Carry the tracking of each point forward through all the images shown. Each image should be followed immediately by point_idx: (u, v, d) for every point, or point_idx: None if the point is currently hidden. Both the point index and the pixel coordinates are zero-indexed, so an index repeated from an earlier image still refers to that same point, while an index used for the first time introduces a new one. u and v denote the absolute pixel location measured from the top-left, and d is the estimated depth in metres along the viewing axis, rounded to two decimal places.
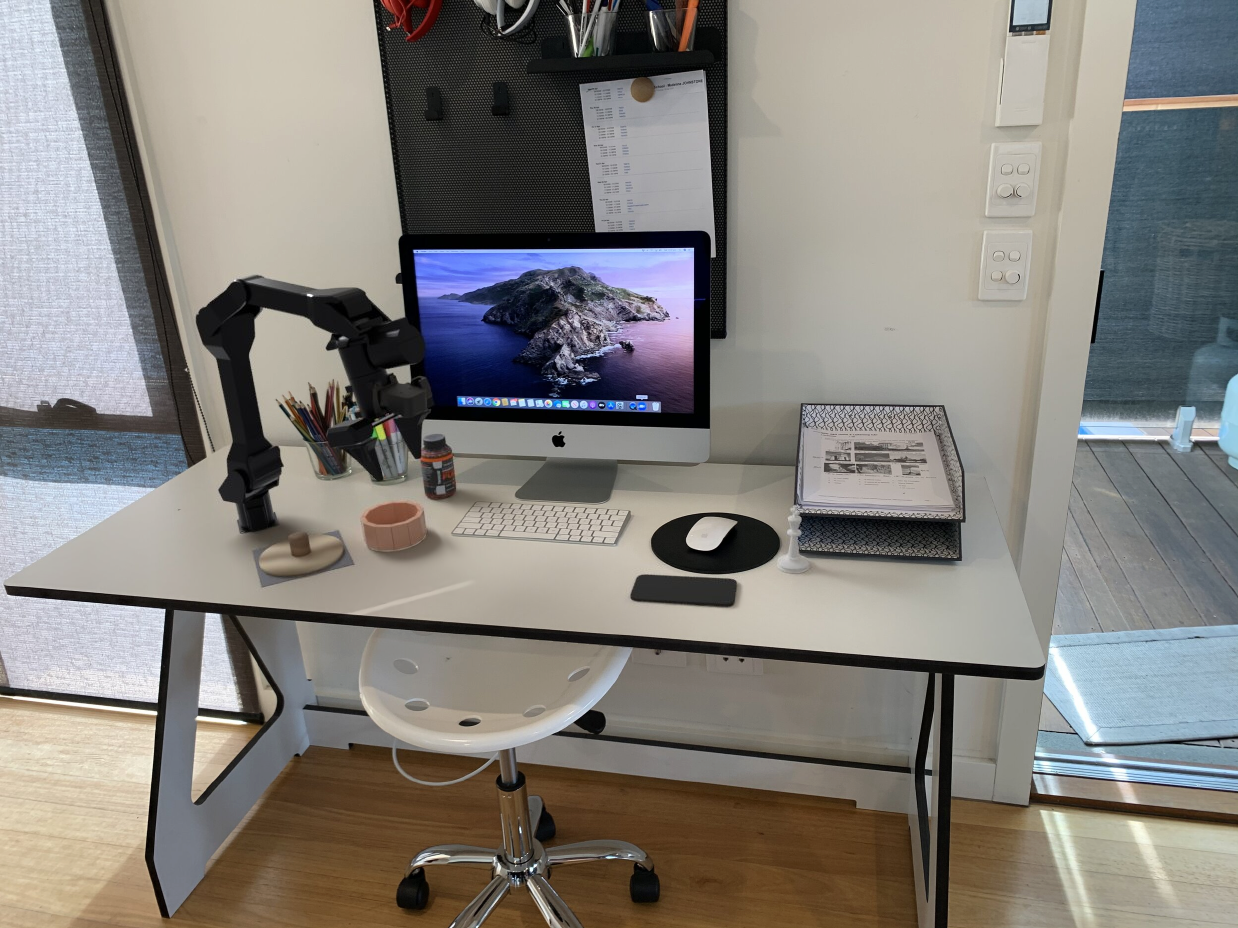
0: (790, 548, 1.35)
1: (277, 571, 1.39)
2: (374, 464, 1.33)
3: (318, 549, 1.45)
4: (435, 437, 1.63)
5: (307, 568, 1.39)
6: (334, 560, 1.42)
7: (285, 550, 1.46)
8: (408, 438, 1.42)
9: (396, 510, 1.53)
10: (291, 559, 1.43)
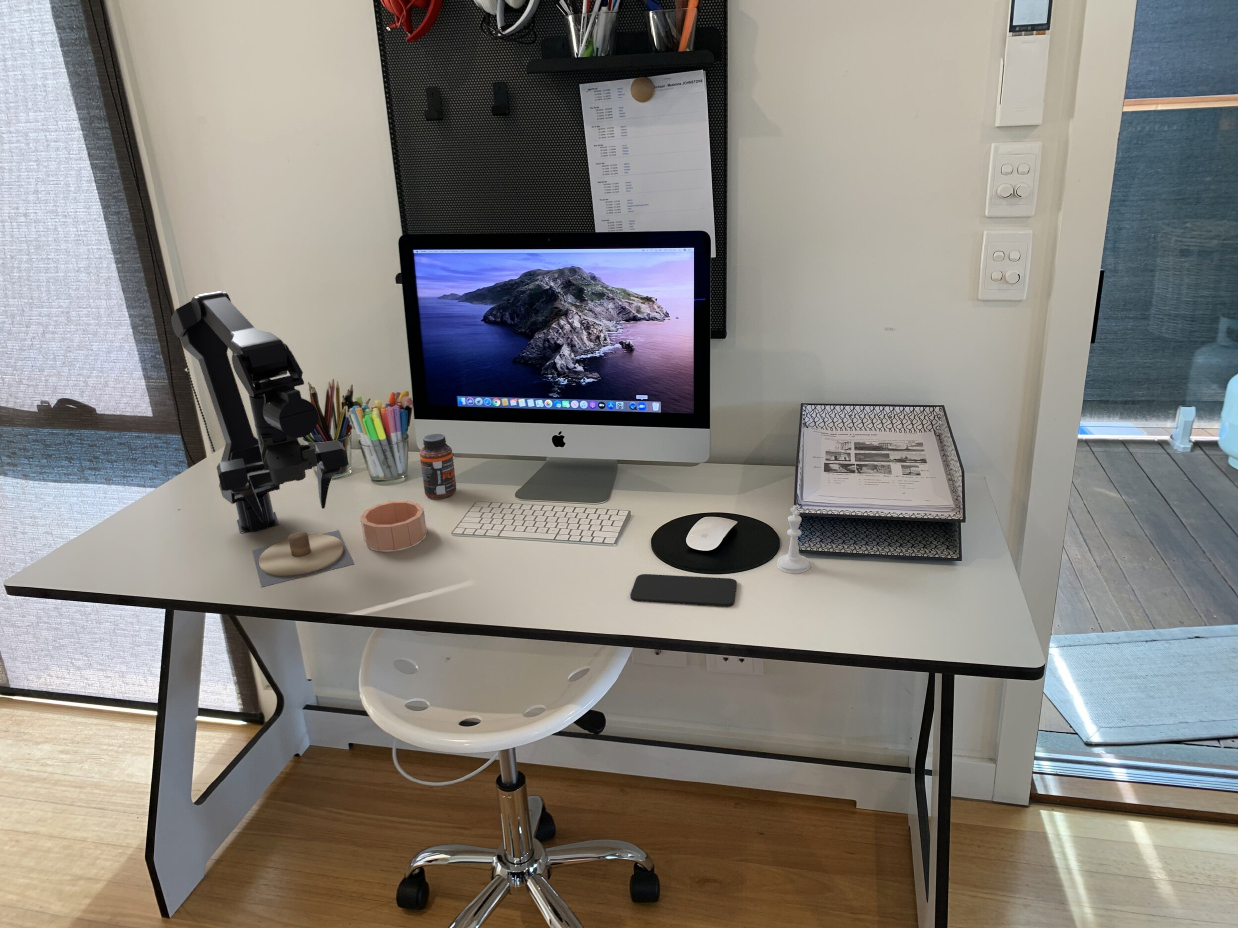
0: (790, 548, 1.35)
1: (277, 572, 1.39)
2: (253, 507, 1.38)
3: (318, 549, 1.45)
4: (435, 437, 1.63)
5: (307, 568, 1.39)
6: (334, 560, 1.42)
7: (285, 550, 1.46)
8: (319, 486, 1.43)
9: (396, 510, 1.53)
10: (291, 559, 1.43)
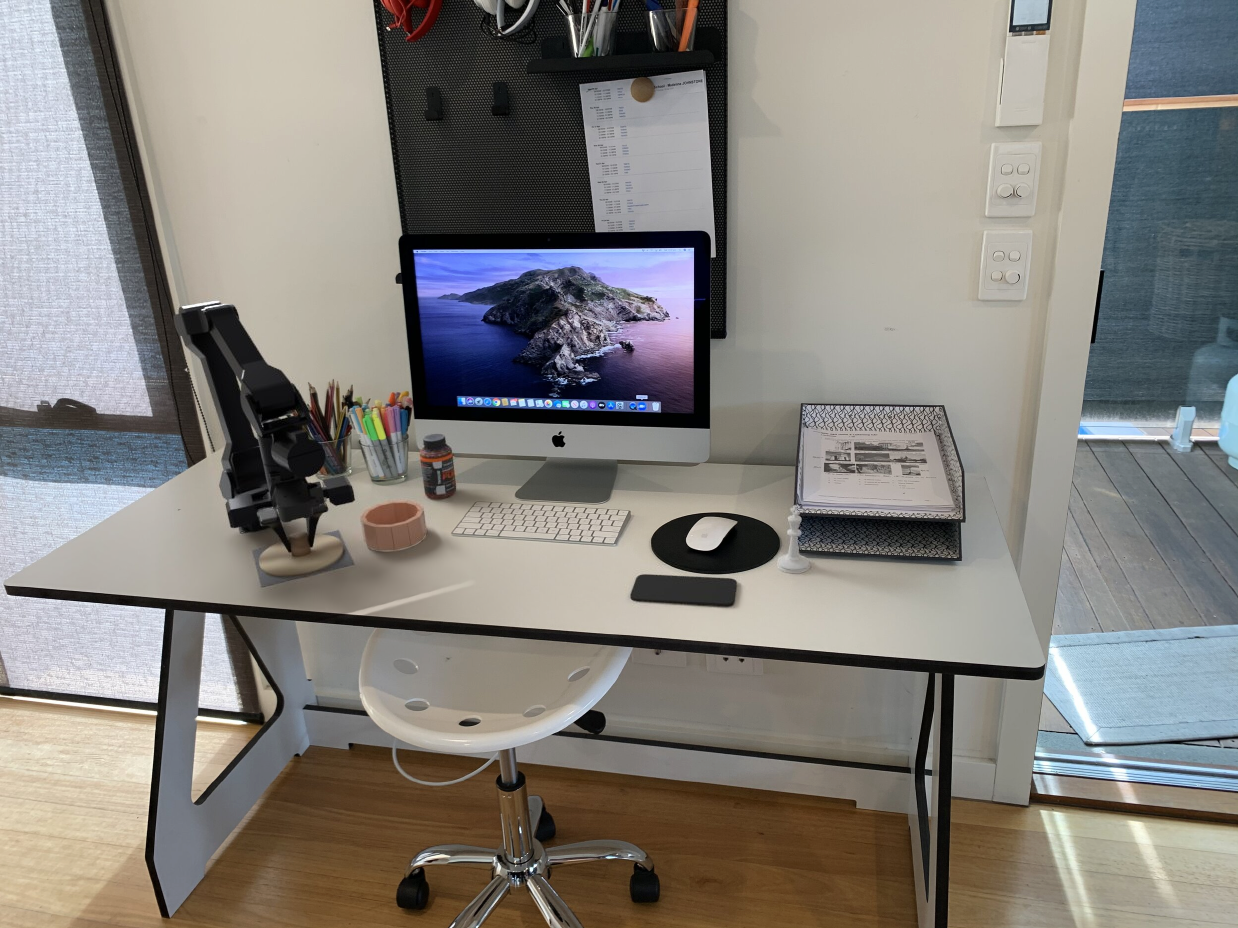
0: (790, 548, 1.35)
1: (277, 572, 1.39)
2: None
3: (318, 549, 1.45)
4: (435, 437, 1.63)
5: (307, 568, 1.39)
6: (334, 560, 1.42)
7: (285, 550, 1.45)
8: (307, 525, 1.44)
9: (396, 510, 1.53)
10: (291, 559, 1.43)
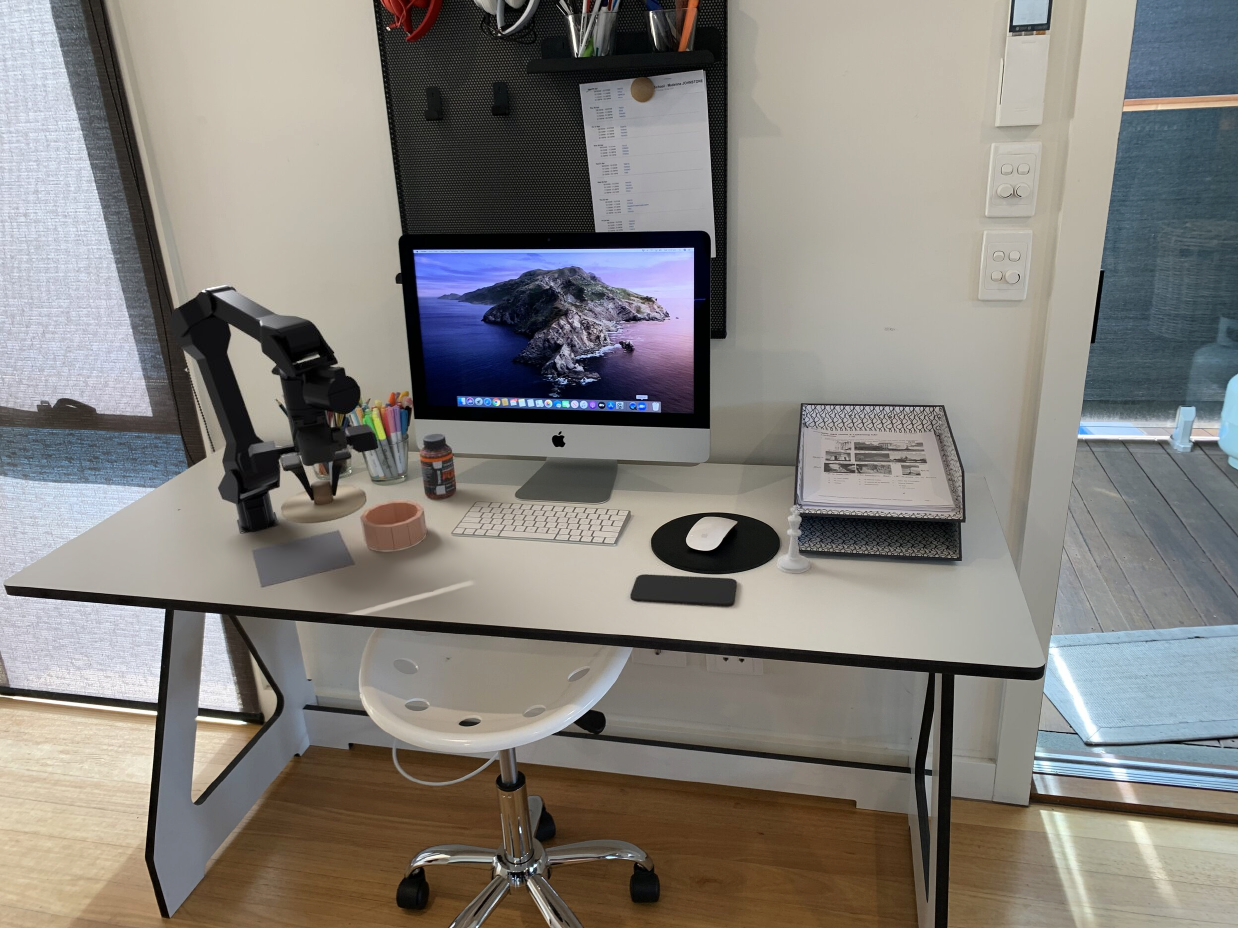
0: (790, 548, 1.35)
1: (299, 518, 1.37)
2: (303, 486, 1.40)
3: (341, 498, 1.43)
4: (435, 437, 1.63)
5: (330, 515, 1.38)
6: (357, 508, 1.41)
7: (307, 499, 1.44)
8: (330, 473, 1.43)
9: (396, 510, 1.53)
10: (313, 507, 1.41)
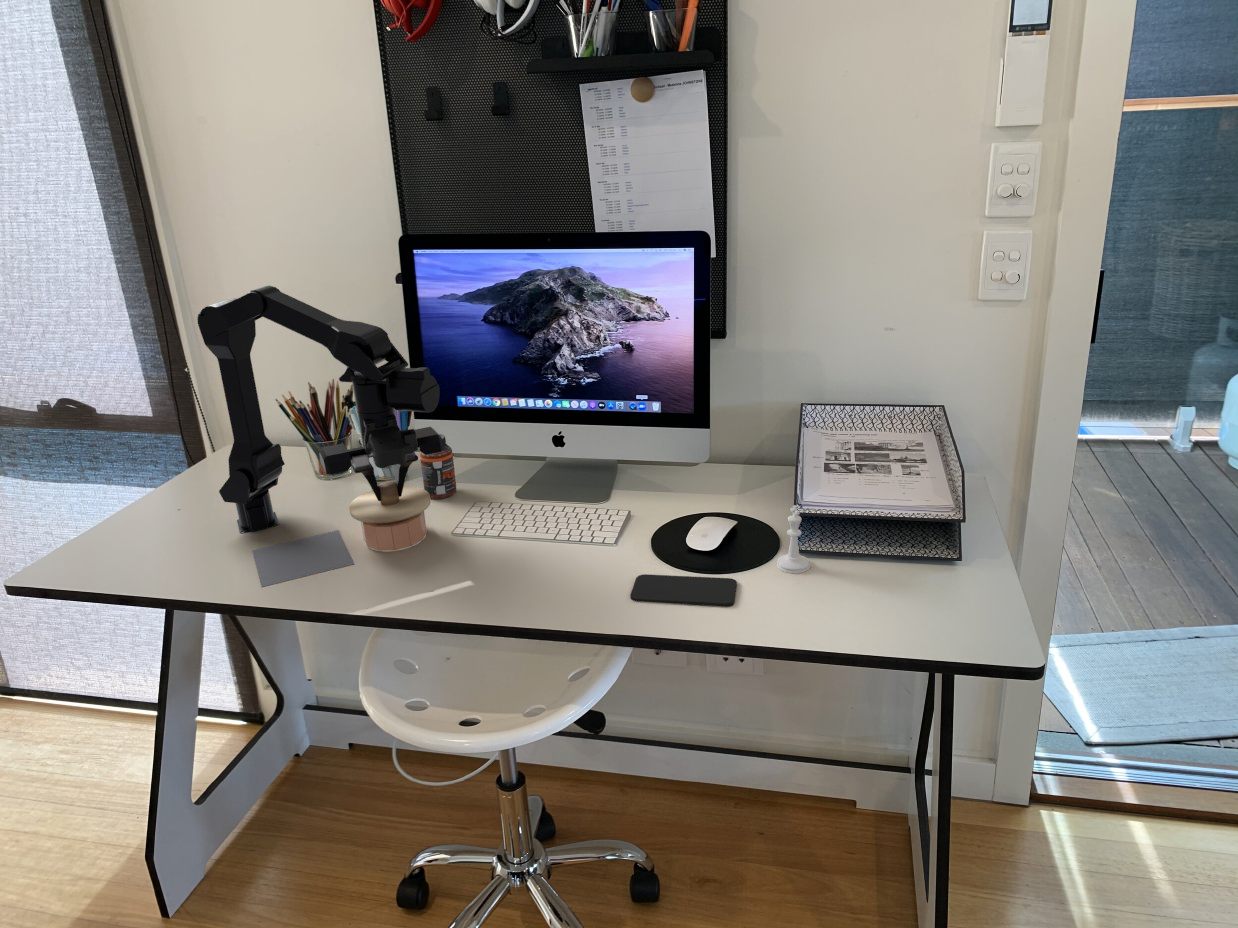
0: (790, 548, 1.35)
1: (370, 518, 1.42)
2: (371, 487, 1.44)
3: (406, 498, 1.48)
4: None
5: (399, 515, 1.42)
6: (424, 508, 1.45)
7: (373, 499, 1.48)
8: (396, 474, 1.47)
9: None
10: (381, 507, 1.45)
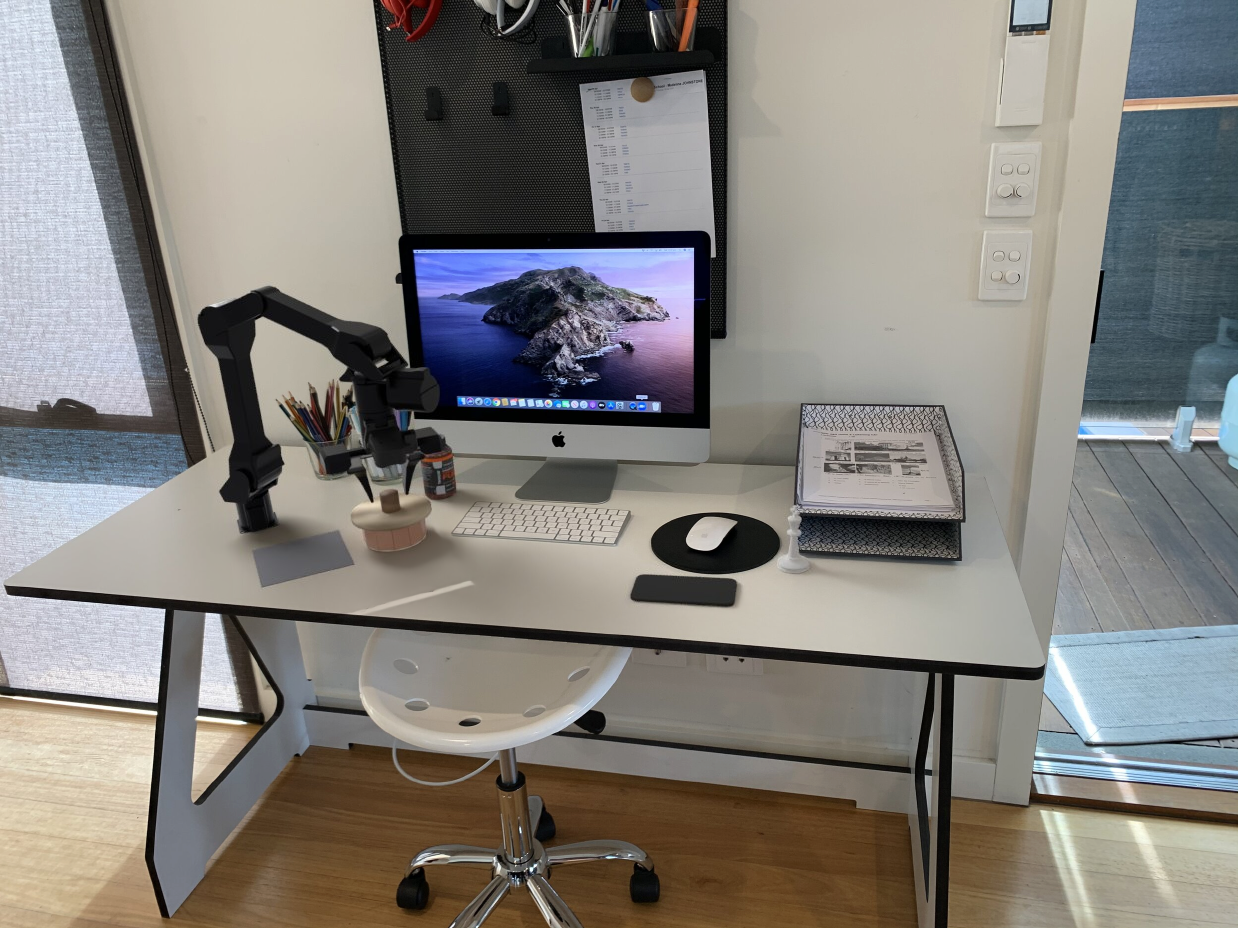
0: (790, 548, 1.35)
1: (371, 526, 1.42)
2: (364, 488, 1.44)
3: (407, 506, 1.49)
4: None
5: (400, 523, 1.43)
6: (425, 516, 1.46)
7: (375, 507, 1.49)
8: (403, 473, 1.48)
9: None
10: (382, 515, 1.46)
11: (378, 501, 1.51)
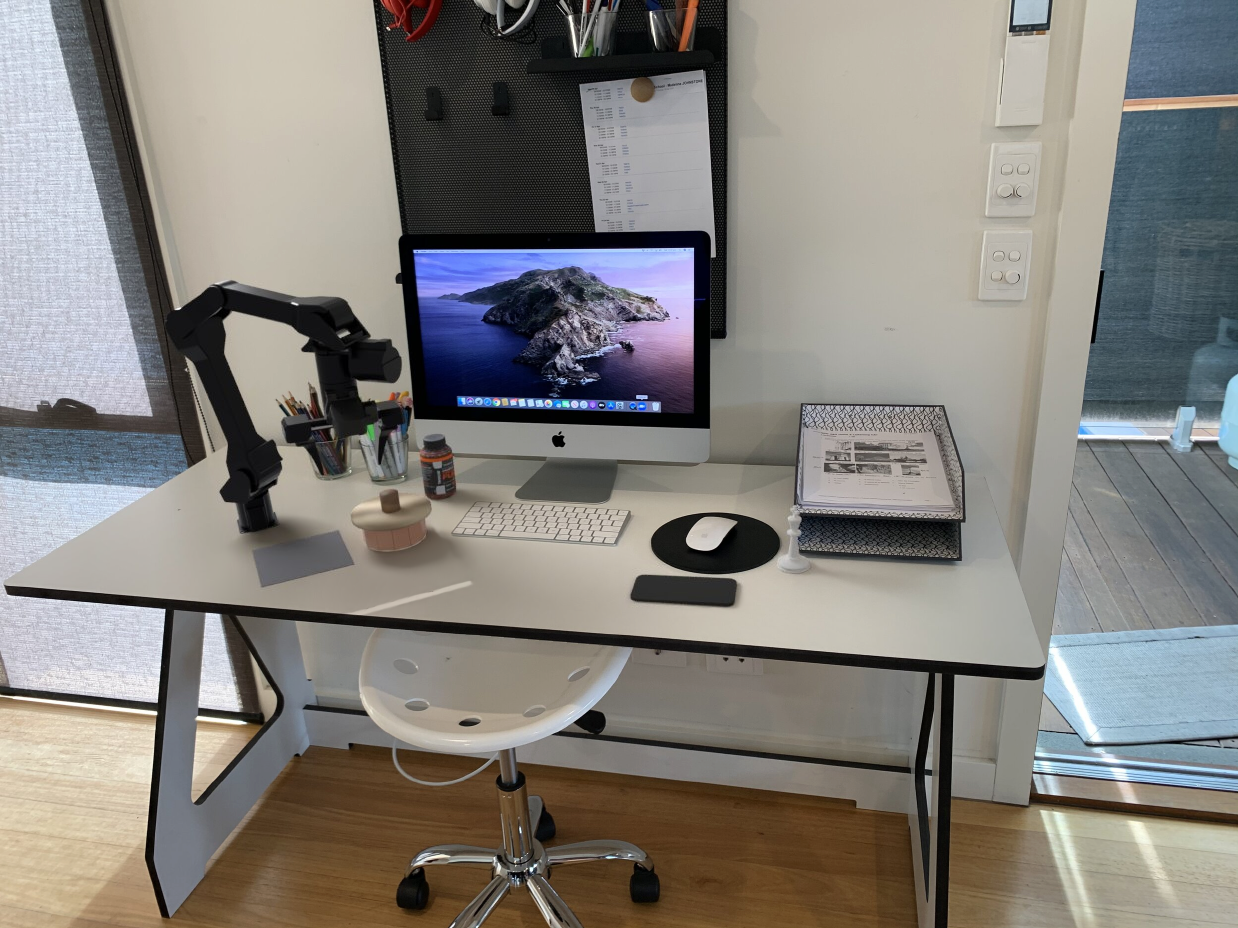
0: (790, 548, 1.35)
1: (371, 526, 1.42)
2: (314, 461, 1.44)
3: (407, 506, 1.49)
4: (435, 437, 1.63)
5: (400, 523, 1.43)
6: (425, 516, 1.46)
7: (375, 507, 1.49)
8: (376, 443, 1.49)
9: None
10: (382, 515, 1.46)
11: (378, 501, 1.51)
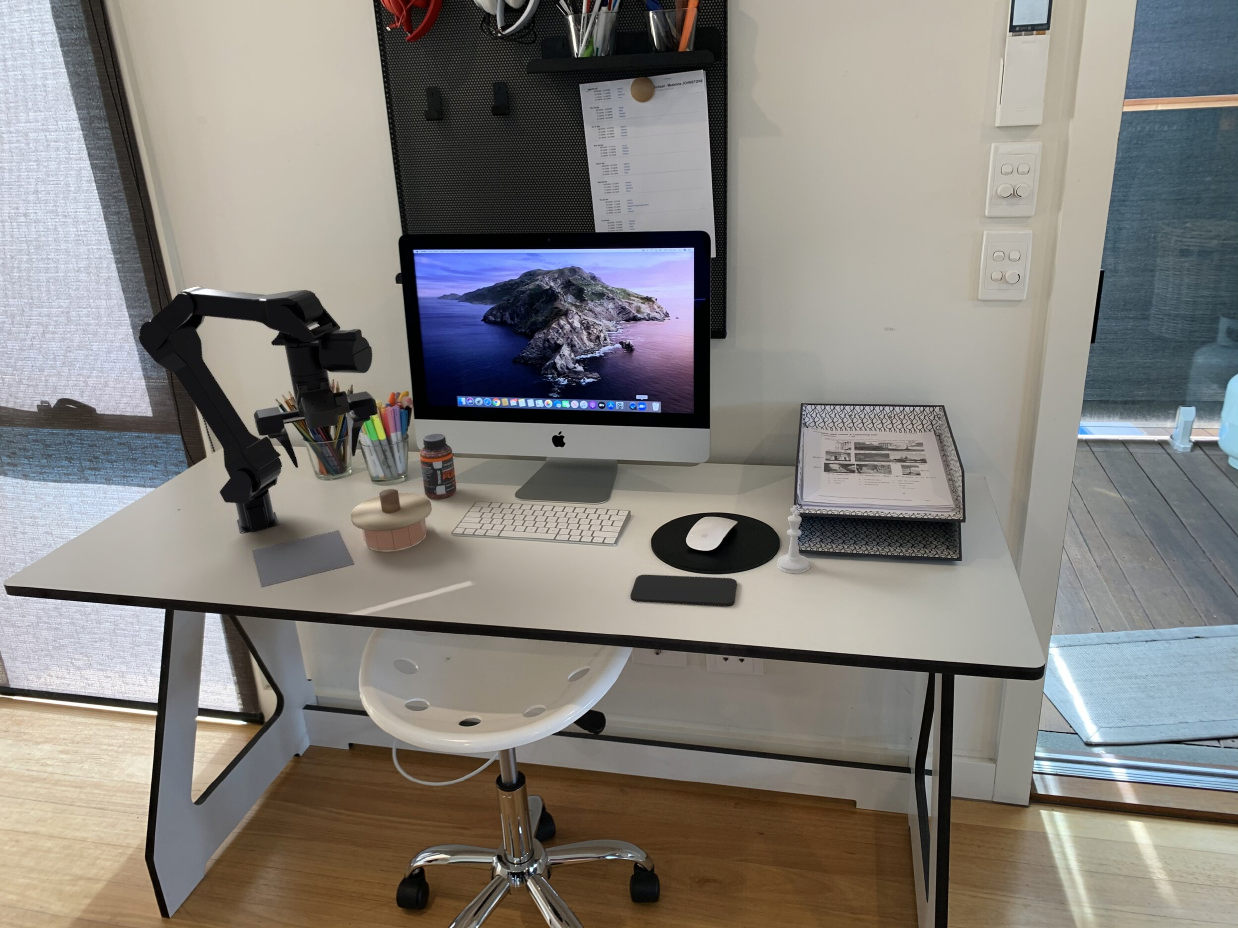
0: (790, 548, 1.35)
1: (371, 526, 1.42)
2: None
3: (407, 506, 1.49)
4: (435, 437, 1.63)
5: (400, 523, 1.43)
6: (425, 516, 1.46)
7: (375, 507, 1.49)
8: (349, 435, 1.51)
9: None
10: (382, 515, 1.46)
11: (378, 501, 1.51)
